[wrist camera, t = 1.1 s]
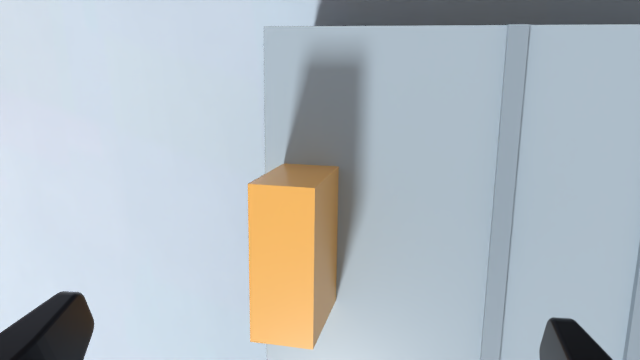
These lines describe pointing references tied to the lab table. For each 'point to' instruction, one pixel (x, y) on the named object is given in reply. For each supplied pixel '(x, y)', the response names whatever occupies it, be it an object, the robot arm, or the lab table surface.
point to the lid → (446, 191)
